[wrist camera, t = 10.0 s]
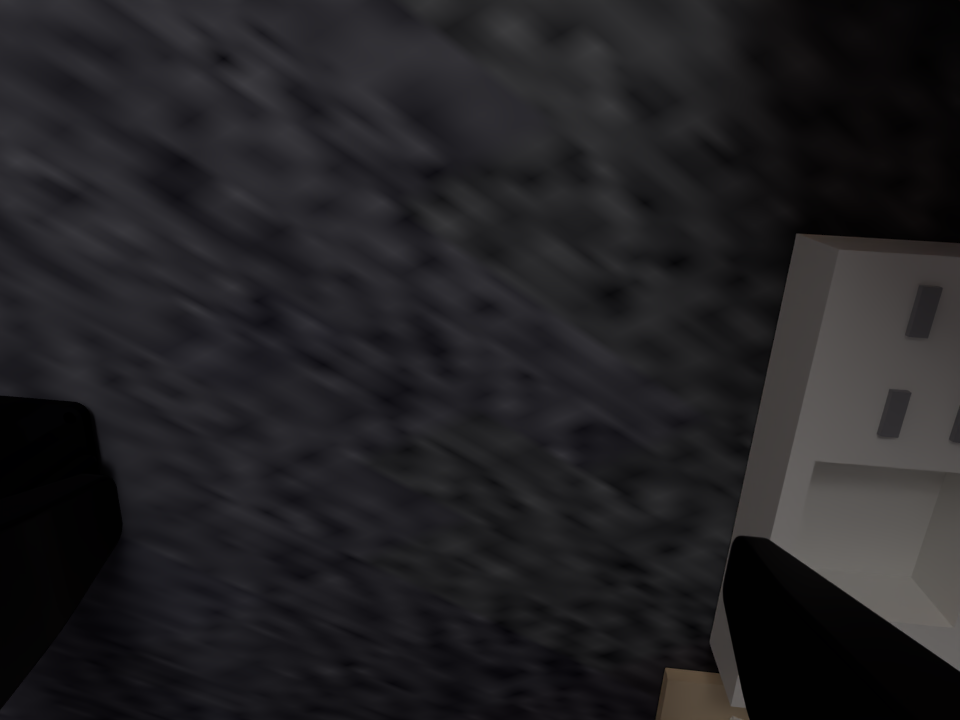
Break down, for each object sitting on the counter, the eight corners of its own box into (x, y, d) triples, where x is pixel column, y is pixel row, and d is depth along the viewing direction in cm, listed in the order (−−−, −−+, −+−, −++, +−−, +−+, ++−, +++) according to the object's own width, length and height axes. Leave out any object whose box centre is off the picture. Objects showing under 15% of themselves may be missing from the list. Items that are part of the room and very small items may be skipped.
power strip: (709, 642, 25) (734, 718, 22) (796, 233, 20) (847, 253, 16) (893, 661, 25) (948, 742, 21) (1034, 247, 19) (1136, 270, 16)
